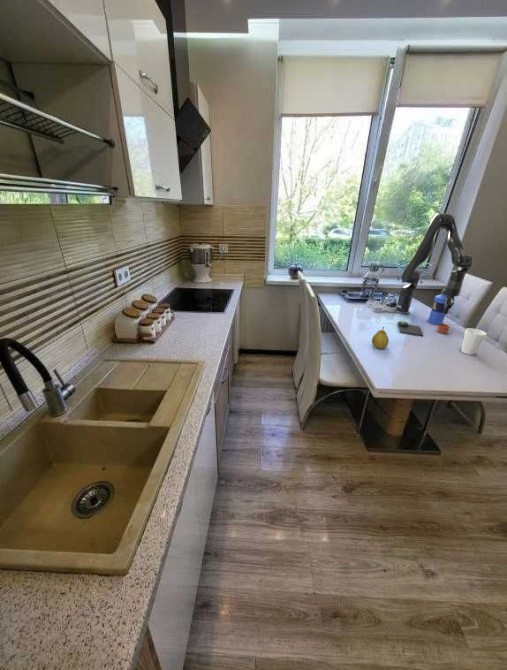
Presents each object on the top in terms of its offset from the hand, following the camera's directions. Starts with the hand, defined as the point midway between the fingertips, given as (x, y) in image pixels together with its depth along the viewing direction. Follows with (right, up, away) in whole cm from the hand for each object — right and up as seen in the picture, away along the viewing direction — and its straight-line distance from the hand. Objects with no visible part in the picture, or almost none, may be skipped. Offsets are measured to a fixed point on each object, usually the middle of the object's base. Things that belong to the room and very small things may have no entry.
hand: (445, 313), depth 179 cm
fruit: (-51, -21, -17) cm, 58 cm away
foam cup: (-1, -24, -20) cm, 31 cm away
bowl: (+2, -12, +5) cm, 13 cm away
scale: (-19, -11, +8) cm, 23 cm away
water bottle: (+8, -5, +22) cm, 24 cm away
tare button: (-21, -6, +12) cm, 25 cm away
